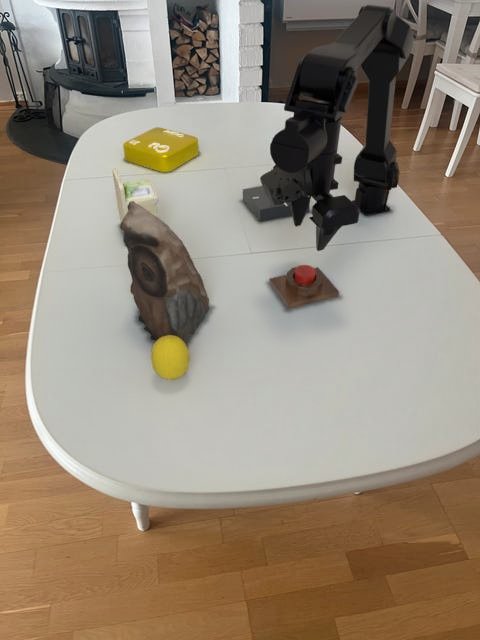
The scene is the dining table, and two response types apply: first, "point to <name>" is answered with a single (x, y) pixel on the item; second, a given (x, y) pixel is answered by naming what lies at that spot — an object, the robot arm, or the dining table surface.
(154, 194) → the toy sink
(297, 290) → the button block
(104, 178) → the dining table surface
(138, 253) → the owl
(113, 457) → the dining table surface
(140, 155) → the element tile
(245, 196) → the plate
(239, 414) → the dining table surface
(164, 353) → the lemon
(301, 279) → the button
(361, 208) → the robot arm
